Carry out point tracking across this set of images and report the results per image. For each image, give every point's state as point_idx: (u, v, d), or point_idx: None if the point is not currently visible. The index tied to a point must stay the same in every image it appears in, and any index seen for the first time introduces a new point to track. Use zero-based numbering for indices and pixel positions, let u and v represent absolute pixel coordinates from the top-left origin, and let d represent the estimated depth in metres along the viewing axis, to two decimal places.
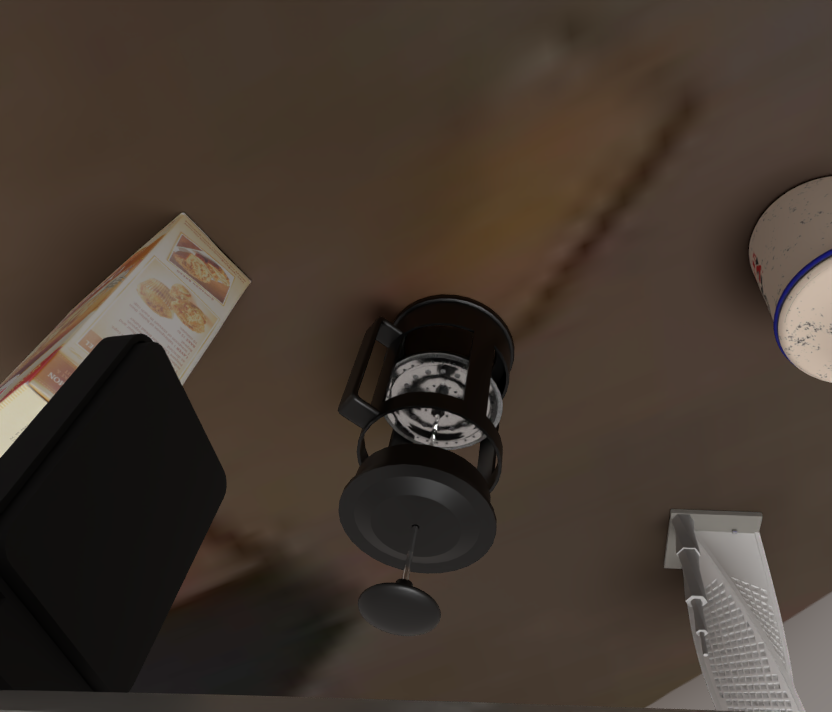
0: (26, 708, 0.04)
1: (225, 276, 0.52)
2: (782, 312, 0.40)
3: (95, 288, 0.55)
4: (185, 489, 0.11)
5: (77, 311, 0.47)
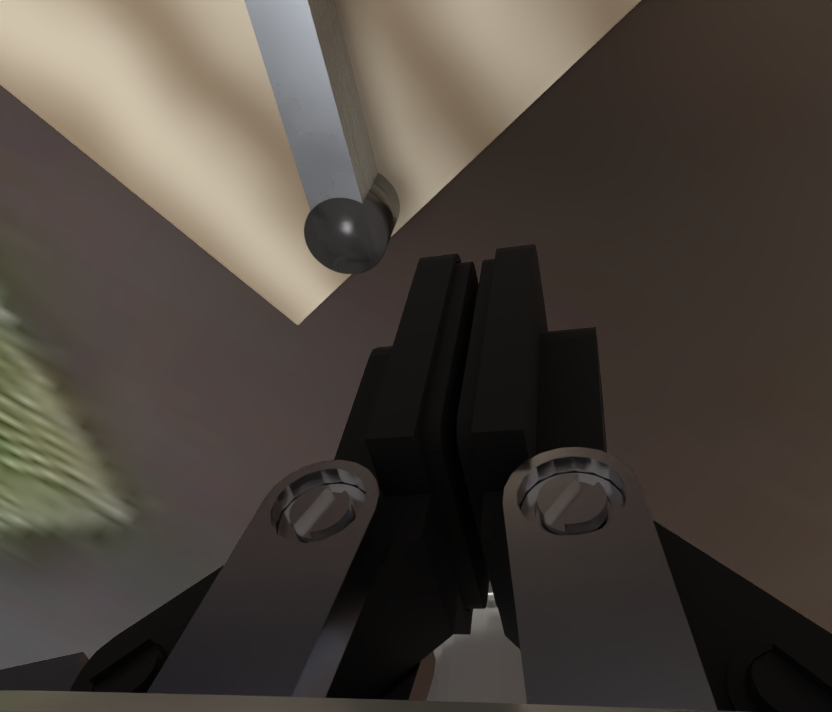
0: (25, 707, 0.04)
1: None
2: None
3: None
4: None
5: None
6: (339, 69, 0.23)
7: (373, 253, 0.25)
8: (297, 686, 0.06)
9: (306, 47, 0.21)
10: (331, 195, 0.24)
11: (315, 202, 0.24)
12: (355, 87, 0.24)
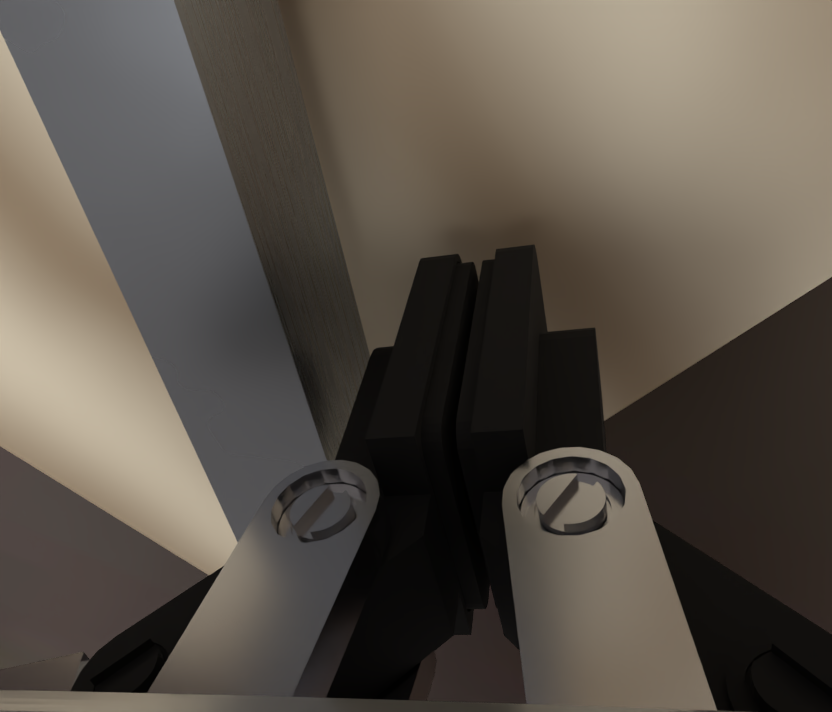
0: (26, 706, 0.04)
1: None
2: None
3: None
4: None
5: None
6: (322, 310, 0.10)
7: None
8: (298, 686, 0.06)
9: (237, 295, 0.08)
10: None
11: None
12: (357, 316, 0.11)
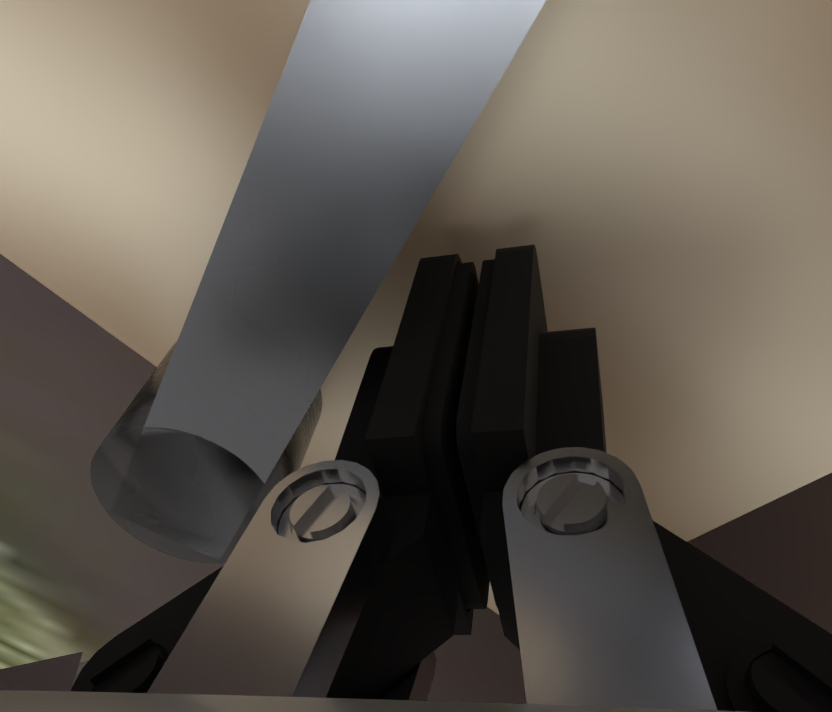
0: (26, 708, 0.04)
1: None
2: None
3: None
4: None
5: None
6: None
7: (219, 548, 0.11)
8: (297, 686, 0.06)
9: (392, 184, 0.08)
10: (211, 436, 0.10)
11: (166, 424, 0.10)
12: None
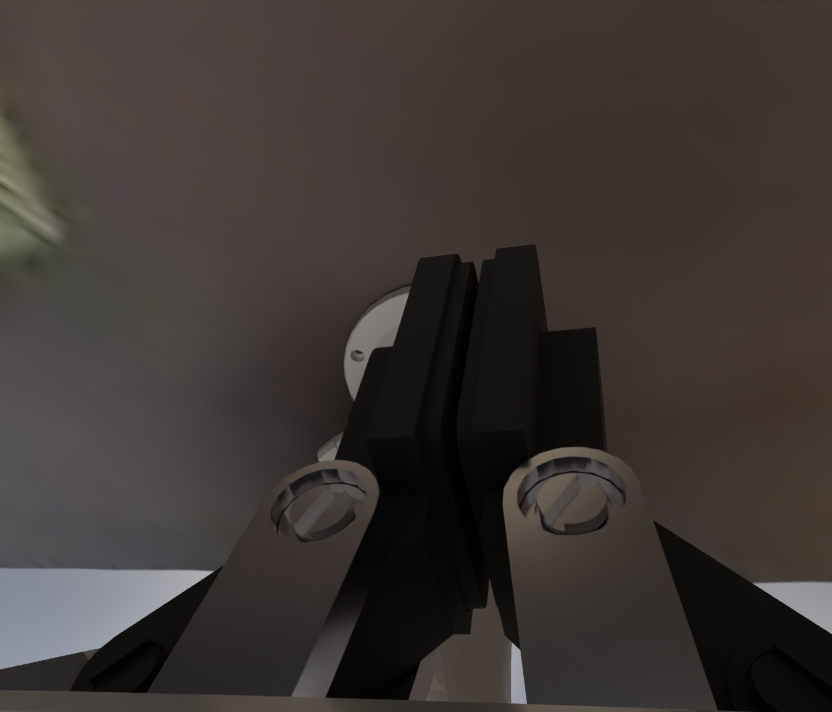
0: (26, 706, 0.04)
1: None
2: None
3: None
4: None
5: None
6: None
7: None
8: (297, 686, 0.06)
9: None
10: None
11: None
12: None
